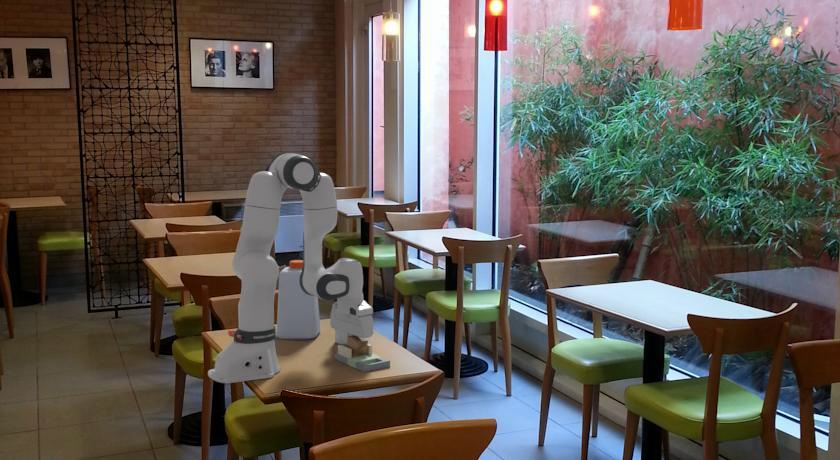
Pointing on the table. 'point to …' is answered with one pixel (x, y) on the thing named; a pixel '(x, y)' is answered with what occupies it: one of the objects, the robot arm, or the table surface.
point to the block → (357, 345)
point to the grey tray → (361, 359)
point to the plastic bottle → (296, 306)
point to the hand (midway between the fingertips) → (351, 345)
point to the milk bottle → (340, 337)
